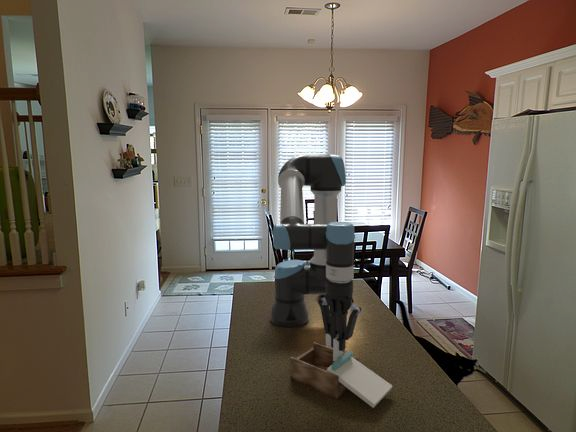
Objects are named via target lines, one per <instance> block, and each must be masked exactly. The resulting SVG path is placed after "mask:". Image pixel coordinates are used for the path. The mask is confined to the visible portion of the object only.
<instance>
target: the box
mask: <svg viewBox="0 0 576 432" xmlns="http://www.w3.org/2000/svg"><path fill="white" fill-rule="evenodd" d="M312 344H313V345H312V347H311V348H309V349H308V350H307V351H305V352H303V353H302V354H301V355H299V356H297V357H294V356H290V358H289V359H290V360H289V361H290V363H289V366H290V369H289V371H290V379H292V380H294V381H297V382H299V383H301V384H304V385H305V386H307V387H309V388H312V389H314V390H316V391H319V392H321V393H323V394H325V395H327V396H329V397H331V398H333V399H335V400H337V399H339V398H340V397H341V396H342V395H344V393H345V392H347V391H348V390H349V389H348V388H347V387H345V386H344V385H343V384H342V383H340V382H339V381H338V375H335V374H333V373H330V372H328V371H327V368H328V367H330V366H331V365H332V364H333V363H334V362H335V361H333V349H332V348H329V347H327V346H326V345H323V344H320V343H318V342H316V341H314V342H313V343H312ZM346 353H347V352H343V355H344V354H346ZM352 357H353V358H354V359H356V360H357V361H359V362H360V358H359V357H356V356H354V355H352Z"/></svg>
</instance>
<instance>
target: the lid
mask: <svg viewBox="0 0 576 432" xmlns="http://www.w3.org/2000/svg"><path fill="white" fill-rule="evenodd" d="M345 353H346V354H344V355H343V356H342V357H340V358H339V359H338V360H336V361H335V362H334V363H333V364H332V365H331V366H330V367H328V368H327V371H328V372H330V373H333V374H335V375H338V381H339V382H340V383H342V384H343V385H344V386H345V387H347V388H348V390H349V391H350V392H352V393H353V394H354V395H356V396H357V397H358V398H360V399H361V400H362V401H364V403H366V404H367V405H369V406H370V407H372V409H374V408H375V407H376V406H377V405H378V404H379V403H380V401H381V400H382V399H384V397H385V396H387V394H388V393H389V392H391V390H392V388H393V385H392V384H391V383H389V382H388V381H386V380H385V379H384V378H383V377H381V376H379V375H378V374H377V373H376V372H374V371H373V370H371V369H369V368H368V367H367V366H365V365H364V364H363V363H362V362H360V360H359V361H357V360H356V359H354V358H353V357H352V356H354V352H353V351H351V350H348V351H347V352H345Z"/></svg>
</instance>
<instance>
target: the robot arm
mask: <svg viewBox="0 0 576 432" xmlns="http://www.w3.org/2000/svg"><path fill="white" fill-rule="evenodd" d="M346 179H347V176H346V168H345V162H344V158H343V157H342V156H341V155H340V154H339V155H338V154H299V155H296V156H293V157H291V158H290V159H288V160H287V161H286V162H285V163H284V164H283V166H282V167H280V170H279V172H278V175H277V183H278V187H279V188H280V204H279V205H280V206H279V207H280V208H279V212H280V213H279V223H277V224H274V225H273V228H272V229H273V233H272V240H273V242H272V243H273V248H274V249H275V250H283V251H297V250H298V251H300V250H305V251H306V250H311V251H313V256H312V258H310V260H309V264H305V261H304V260H302V259H289V260H285V261H282V262H279V263H277V265H275V268H274V276H273V279H274V301H273V305H272V308H271V312H270V321H271V323H272V324H274V325H276V326H279V327H284V328H296V327H301V326H303V325H306V324H307V323H308V322H309V311H308V309H307V306H306V302H305V295H307V296H312V295H313V296H315V295H316V296H317V295H319V296H320V295H325V297H323V296H322V297H321V298H319V299H318V300H317V304H318V306H319V307H320V312H321V316H322V317H321V318H322V322H323V329H324V333H325V335H326V334H329V335H330V336H331V347H332V348H333V361H336V360H338V359H339V358H340V357H342V356H343V353H344V351H345V350H346V341H348V340H350V339H352V337H353V335H354V331H355V327H356V323H357V320H358V316H359V314H360V313H361V311H362V307H361V306H357V305H356V304H355V301H354V300H355V299H354V298H353V293H354V280H353V279H354V270H355V269H354V266H355V264H354V263H355V262H354V258H355V239H356V235H355V225H354V224H353V223H351V222H348V221H347V222H346V221H337V216H338V195H339V193H340V192H342V187H344V186H346V182H347V181H346ZM305 186H306V187H310V188H309V189H310V192H311V193H312V194H313V195H314V196H313V197H314V201H313V202H314V206H313V207H314V208H313V211H314V212H313V214H314V215H313V216H314V217H313V218H314V219H313V223H311V224H310V223H305V213H304V212H305V211H304V210H305V209H304V198H303V197H304V196H303V188H304V187H305ZM349 310H350V313H349ZM348 313H349V317H348ZM330 314H331V315H330ZM337 335H338V336H337ZM344 349H345V350H344ZM343 350H344V351H343Z"/></svg>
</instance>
